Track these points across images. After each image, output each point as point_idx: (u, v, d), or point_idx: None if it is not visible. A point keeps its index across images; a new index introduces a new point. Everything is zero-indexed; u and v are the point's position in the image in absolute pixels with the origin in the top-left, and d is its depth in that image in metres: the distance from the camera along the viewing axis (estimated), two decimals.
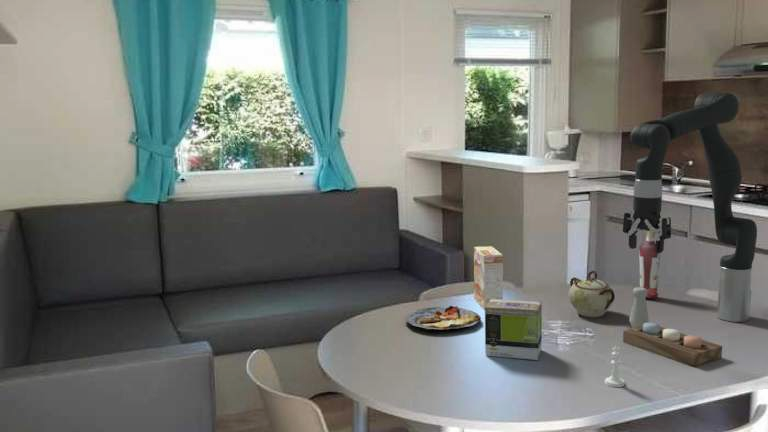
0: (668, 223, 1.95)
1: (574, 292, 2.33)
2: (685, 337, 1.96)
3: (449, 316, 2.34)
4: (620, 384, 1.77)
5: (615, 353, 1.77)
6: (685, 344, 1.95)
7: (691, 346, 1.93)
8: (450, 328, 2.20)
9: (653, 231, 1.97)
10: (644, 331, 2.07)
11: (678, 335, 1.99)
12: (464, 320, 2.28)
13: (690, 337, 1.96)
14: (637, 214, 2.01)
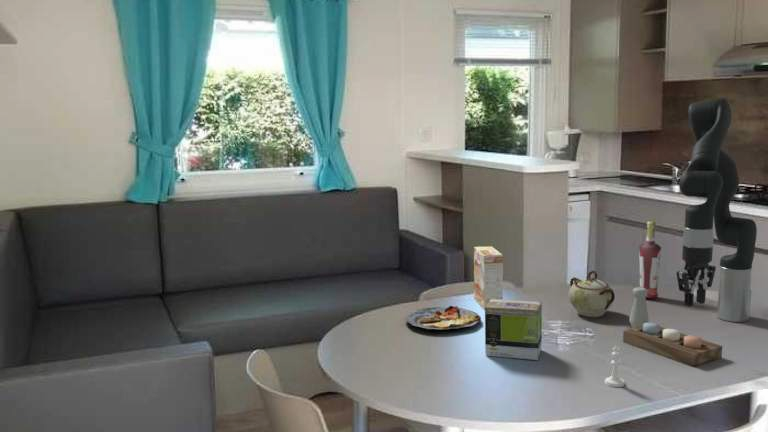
0: None
1: (574, 292, 2.33)
2: (685, 337, 1.96)
3: (449, 316, 2.34)
4: (620, 384, 1.77)
5: (615, 353, 1.77)
6: (685, 344, 1.95)
7: (691, 346, 1.93)
8: (450, 328, 2.20)
9: (707, 281, 1.92)
10: (644, 331, 2.07)
11: (678, 335, 1.99)
12: (464, 320, 2.28)
13: (690, 337, 1.96)
14: (693, 266, 1.89)
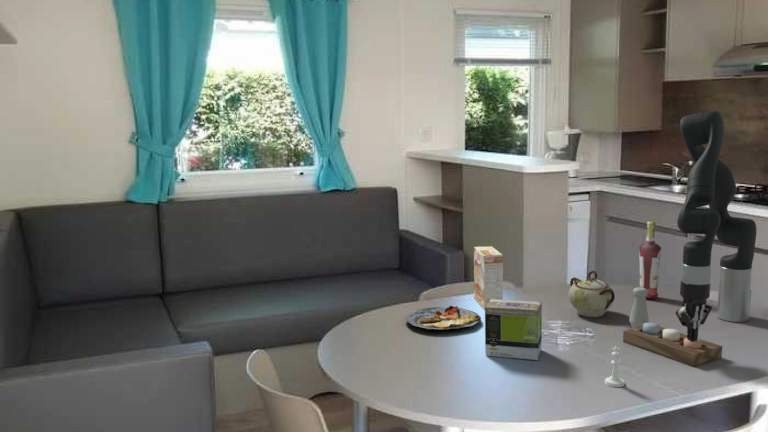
0: None
1: (574, 292, 2.33)
2: (685, 339, 1.96)
3: (449, 316, 2.34)
4: (620, 384, 1.77)
5: (615, 353, 1.77)
6: (685, 346, 1.95)
7: (691, 348, 1.94)
8: (450, 328, 2.20)
9: (701, 318, 1.93)
10: (644, 331, 2.07)
11: (678, 335, 1.99)
12: (464, 320, 2.28)
13: None
14: (690, 302, 1.91)
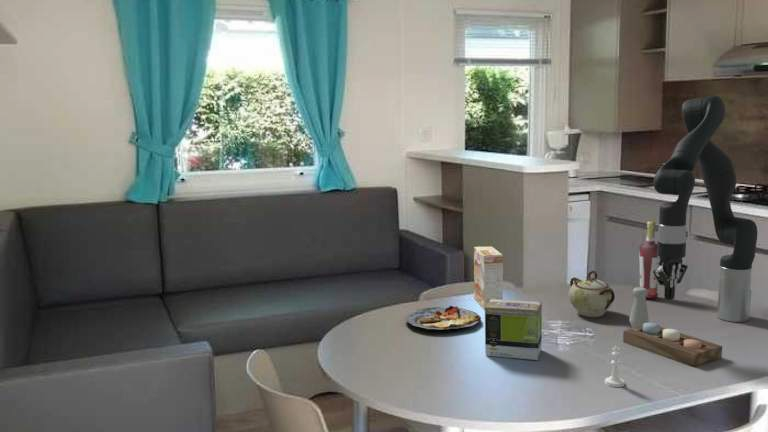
0: None
1: (575, 292, 2.33)
2: (685, 341, 1.96)
3: (449, 316, 2.34)
4: (620, 384, 1.77)
5: (615, 353, 1.77)
6: None
7: None
8: None
9: (678, 277, 1.99)
10: (644, 331, 2.07)
11: (678, 335, 1.99)
12: (464, 320, 2.28)
13: (690, 341, 1.96)
14: (667, 261, 1.96)
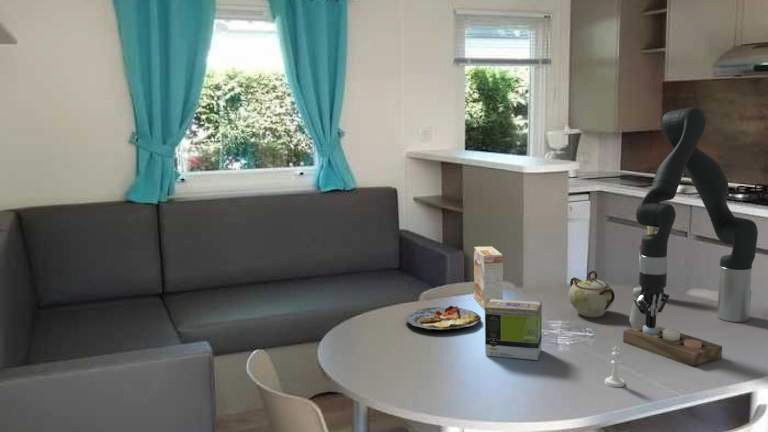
0: None
1: (574, 292, 2.33)
2: (685, 341, 1.96)
3: (449, 316, 2.34)
4: (620, 384, 1.77)
5: (615, 353, 1.77)
6: None
7: None
8: (450, 328, 2.20)
9: (658, 306, 2.05)
10: None
11: (678, 335, 1.99)
12: (464, 320, 2.28)
13: (690, 341, 1.96)
14: (648, 291, 2.03)
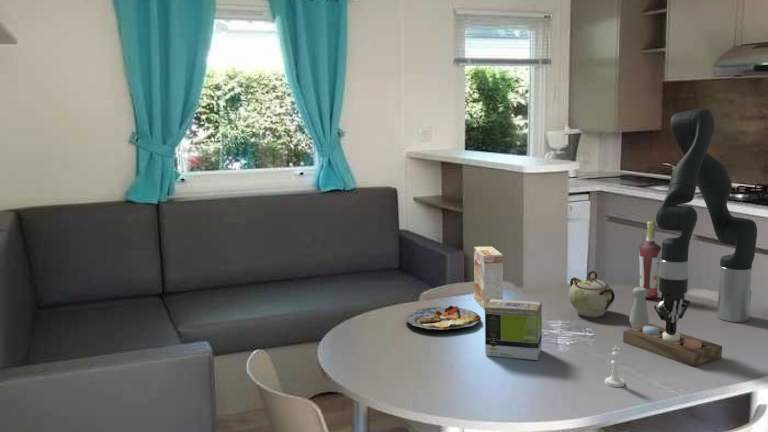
0: None
1: (574, 292, 2.33)
2: (685, 341, 1.96)
3: (449, 316, 2.34)
4: (620, 384, 1.77)
5: (615, 353, 1.77)
6: None
7: None
8: (450, 328, 2.20)
9: (679, 312, 1.99)
10: None
11: (678, 338, 1.99)
12: (464, 320, 2.28)
13: (690, 341, 1.96)
14: (668, 296, 1.97)
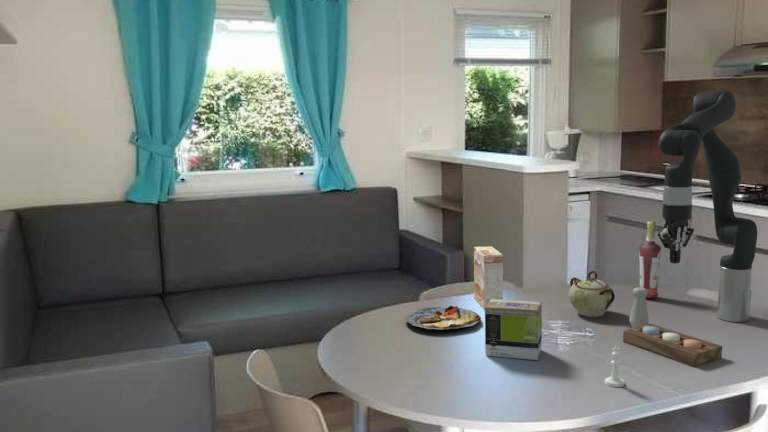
0: None
1: (574, 292, 2.33)
2: (685, 341, 1.96)
3: (449, 316, 2.34)
4: (620, 384, 1.77)
5: (615, 353, 1.77)
6: None
7: None
8: (450, 328, 2.20)
9: (683, 240, 1.96)
10: None
11: (678, 339, 2.00)
12: (464, 320, 2.28)
13: (690, 341, 1.96)
14: (672, 223, 1.93)
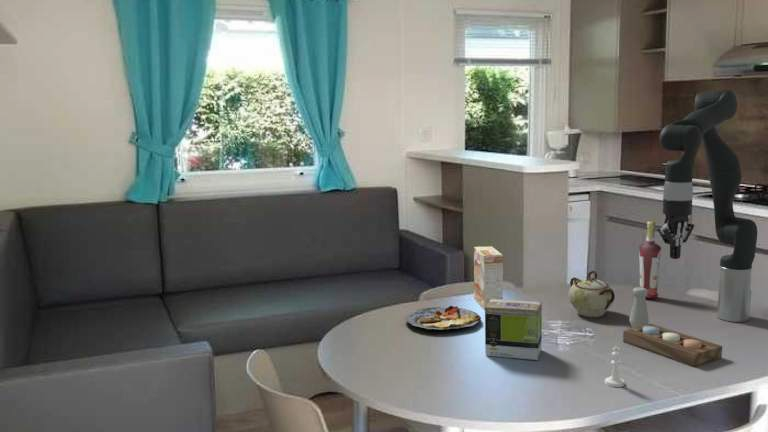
0: None
1: (574, 292, 2.33)
2: (685, 341, 1.96)
3: (449, 316, 2.34)
4: (620, 384, 1.77)
5: (615, 353, 1.77)
6: None
7: None
8: None
9: (683, 235, 1.96)
10: None
11: (678, 339, 2.00)
12: (464, 320, 2.28)
13: (690, 341, 1.96)
14: (672, 218, 1.93)
